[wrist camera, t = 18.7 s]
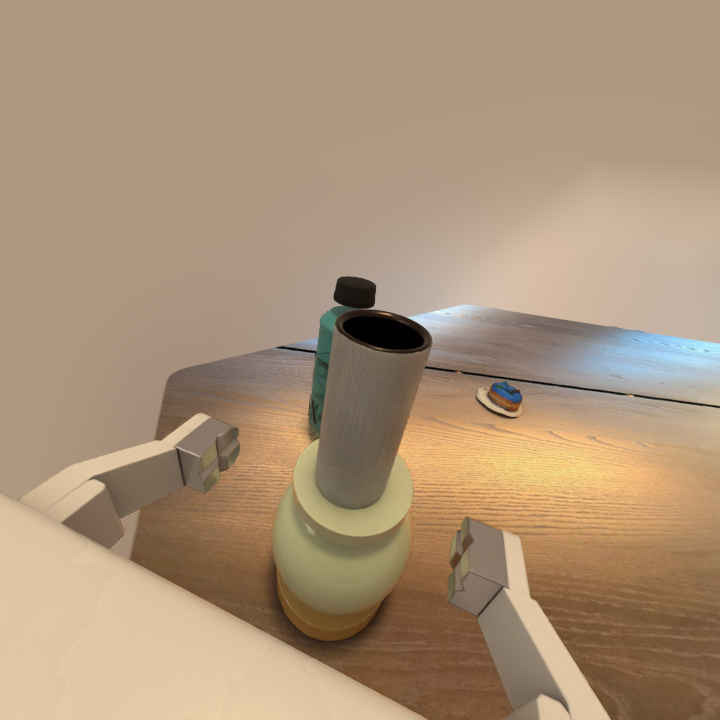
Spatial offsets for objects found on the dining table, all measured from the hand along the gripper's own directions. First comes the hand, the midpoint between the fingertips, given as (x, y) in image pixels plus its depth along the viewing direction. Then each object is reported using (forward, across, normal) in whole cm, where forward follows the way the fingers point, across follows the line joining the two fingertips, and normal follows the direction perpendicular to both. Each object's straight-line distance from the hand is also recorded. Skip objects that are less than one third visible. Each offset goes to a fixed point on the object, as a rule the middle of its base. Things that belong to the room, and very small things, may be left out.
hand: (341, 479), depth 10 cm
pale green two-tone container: (+6, 0, +19) cm, 20 cm away
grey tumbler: (+6, +1, +7) cm, 9 cm away
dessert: (+40, -16, +19) cm, 48 cm away
